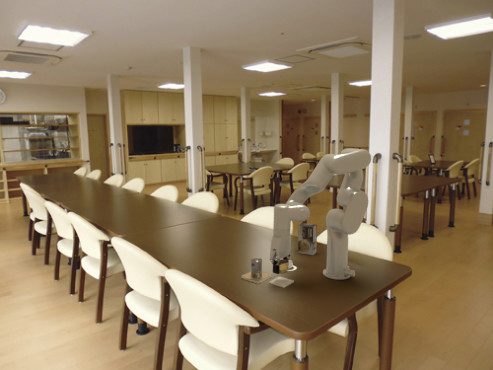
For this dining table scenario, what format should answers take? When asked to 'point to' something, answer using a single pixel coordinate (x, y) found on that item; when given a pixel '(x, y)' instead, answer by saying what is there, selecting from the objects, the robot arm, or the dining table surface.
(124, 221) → the dining table surface
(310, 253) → the coffee box
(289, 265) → the teacup and saucer
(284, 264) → the cap
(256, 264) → the post
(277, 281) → the mat
